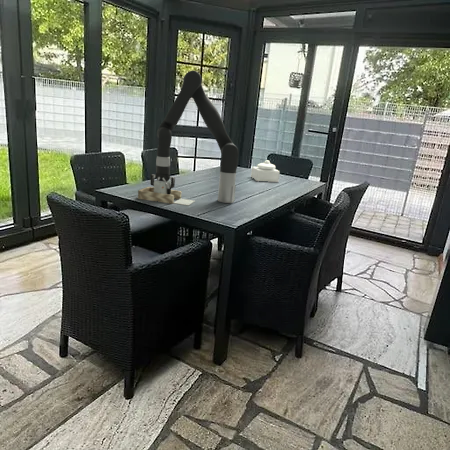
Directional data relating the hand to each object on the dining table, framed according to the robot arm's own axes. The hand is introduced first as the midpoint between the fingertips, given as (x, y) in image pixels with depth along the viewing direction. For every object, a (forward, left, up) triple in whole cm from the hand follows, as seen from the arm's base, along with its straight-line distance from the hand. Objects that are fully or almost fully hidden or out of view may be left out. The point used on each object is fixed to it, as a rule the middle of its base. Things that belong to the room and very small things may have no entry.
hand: (162, 194), depth 206 cm
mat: (-14, 0, -3) cm, 14 cm away
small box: (0, 0, -3) cm, 3 cm away
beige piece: (+1, 0, -3) cm, 3 cm away
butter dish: (-42, -104, -3) cm, 113 cm away
